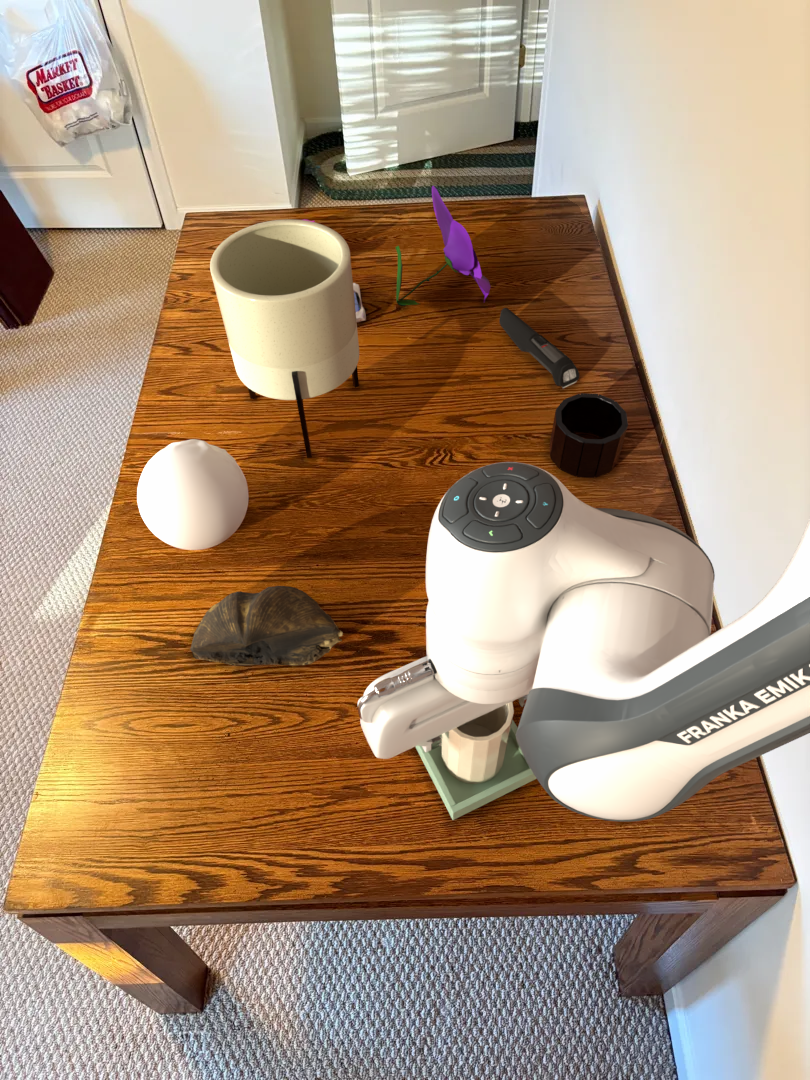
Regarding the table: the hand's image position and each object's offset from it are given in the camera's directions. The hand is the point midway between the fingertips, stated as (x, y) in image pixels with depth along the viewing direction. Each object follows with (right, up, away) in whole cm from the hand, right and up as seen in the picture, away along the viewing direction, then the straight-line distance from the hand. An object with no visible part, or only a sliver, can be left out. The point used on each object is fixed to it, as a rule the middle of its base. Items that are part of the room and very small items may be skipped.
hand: (477, 719), depth 69 cm
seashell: (-21, +5, +15) cm, 26 cm away
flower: (-2, +52, +49) cm, 72 cm away
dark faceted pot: (+16, +27, +30) cm, 43 cm away
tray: (0, -5, +6) cm, 8 cm away
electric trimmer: (+12, +41, +41) cm, 59 cm away
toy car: (-15, +51, +49) cm, 72 cm away
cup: (0, -5, +6) cm, 8 cm away
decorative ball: (-30, +17, +24) cm, 42 cm away
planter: (-19, +32, +36) cm, 52 cm away
